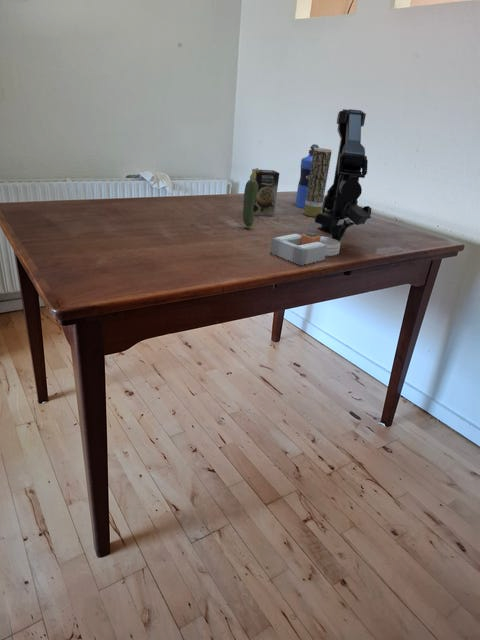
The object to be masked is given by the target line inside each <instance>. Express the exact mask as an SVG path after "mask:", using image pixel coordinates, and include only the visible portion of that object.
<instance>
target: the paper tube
mask: <svg viewBox="0 0 480 640" xmlns="http://www.w3.org/2000/svg"><path fill="white" fill-rule="evenodd" d="M332 154H333V153H332V149H331V148H330V149H329V148H324V147H319V148H314V150H313V157H312V163H311V169H310V176H309V182H308V189H307V195H306V201H305V208H303V209H304V210H303V214H304V215H305V216H307V217H310V218H311V217H313V218H315V217H316V215H317V214H319V213H322V205H323V201H324V198H325V191H326V188H327V187H326V185H327V180H328V174H329V170H330V168H329V167H330V163H331V157H332Z"/></svg>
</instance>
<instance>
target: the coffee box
mask: <svg viewBox="0 0 480 640" xmlns="http://www.w3.org/2000/svg"><path fill="white" fill-rule="evenodd" d="M254 169H255V168H252V169H251V173H252V172H253V171H254ZM258 170H259V173H258V172H256V179H255V180H256V181H257V183H258V192H257V196H256V200H255V202H254V208H253V216H267V217H270V216H273V217H274V216H275V211H276V210H275V209H276V202H277V201H276V200H277V196H278V195H277V193H278V186H279V180H280V172H278V171H277V170H273V169H272V170H271V169H270V170H269V169H258Z"/></svg>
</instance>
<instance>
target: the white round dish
mask: <svg viewBox="0 0 480 640" xmlns="http://www.w3.org/2000/svg"><path fill="white" fill-rule="evenodd" d="M320 243H323V244H325V245H327V248H326V254H325V257H334V255H335V256H338V255H339V253H340V250H341V241H340V242H339V241H338V240H336V239H333V238H332V237H328V236H321V238H320ZM337 254H338V255H337Z"/></svg>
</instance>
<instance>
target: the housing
mask: <svg viewBox="0 0 480 640" xmlns="http://www.w3.org/2000/svg"><path fill="white" fill-rule="evenodd" d="M301 236H302V234H298V233H293V234H287V235H282V236H276V237H273V238H272V239H271V244H270V245H271V246H270V254H271V253H272V254H271V255H274V256H276V255H277V257H278V256H279V258H281V257H282V258H281V259H283V258H284V259H283V260H286V261H288V260H289V261H288V262H290V261H291V262H290V263H293V262H294V263H293V264H295V263H296V264H295V265H297V264H299V265H298V266H300V265H302V266H305V265H304V264H306V265H310V264H314V263H317V261H318V262H321V261H325V258H326V256H325V254H326V248H327V245H325V244H323V243H320V242H313V243H309V244H304V245H300V242H301ZM313 262H314V263H313ZM309 263H310V264H309Z"/></svg>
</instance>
